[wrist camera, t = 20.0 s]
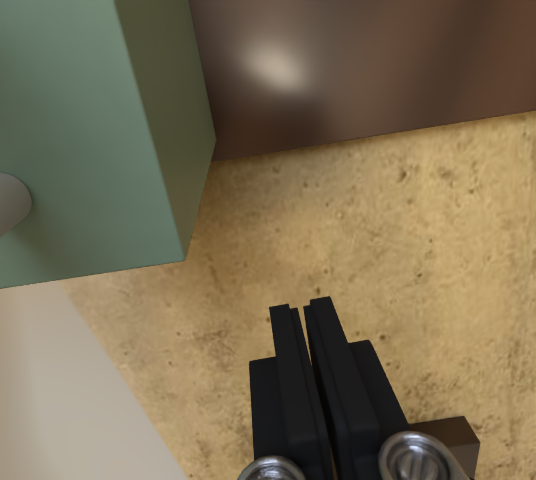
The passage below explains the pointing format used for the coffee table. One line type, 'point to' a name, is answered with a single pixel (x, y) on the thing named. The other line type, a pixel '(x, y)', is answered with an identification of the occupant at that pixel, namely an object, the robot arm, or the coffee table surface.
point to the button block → (451, 441)
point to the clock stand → (359, 67)
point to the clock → (99, 136)
